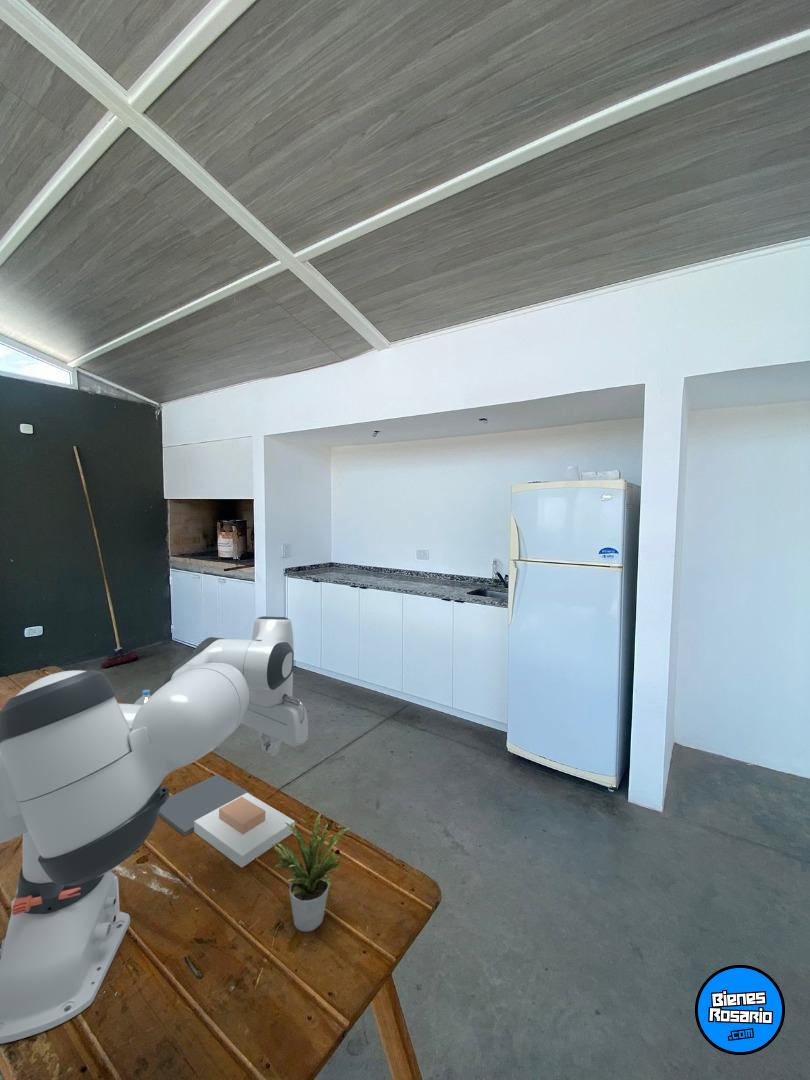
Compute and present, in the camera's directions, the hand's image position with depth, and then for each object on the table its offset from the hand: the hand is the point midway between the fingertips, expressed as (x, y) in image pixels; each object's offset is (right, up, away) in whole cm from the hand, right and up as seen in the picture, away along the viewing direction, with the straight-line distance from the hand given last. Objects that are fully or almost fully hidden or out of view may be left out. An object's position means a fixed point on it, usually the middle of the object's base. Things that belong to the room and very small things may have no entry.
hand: (270, 752), depth 98 cm
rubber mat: (-21, -20, +15) cm, 33 cm away
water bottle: (-41, -20, +24) cm, 51 cm away
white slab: (-8, -21, +5) cm, 23 cm away
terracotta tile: (-8, -18, +6) cm, 21 cm away
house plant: (+13, -22, -16) cm, 30 cm away
